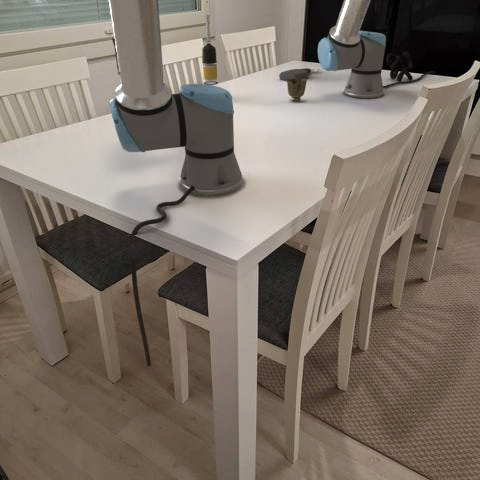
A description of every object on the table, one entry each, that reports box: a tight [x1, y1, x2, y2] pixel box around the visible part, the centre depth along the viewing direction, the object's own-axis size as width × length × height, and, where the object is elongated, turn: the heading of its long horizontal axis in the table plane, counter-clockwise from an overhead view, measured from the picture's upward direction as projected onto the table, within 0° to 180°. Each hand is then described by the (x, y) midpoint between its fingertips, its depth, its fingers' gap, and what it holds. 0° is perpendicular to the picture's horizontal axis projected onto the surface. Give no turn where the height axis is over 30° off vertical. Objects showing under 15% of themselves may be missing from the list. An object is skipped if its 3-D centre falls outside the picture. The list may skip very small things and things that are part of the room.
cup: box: [286, 78, 308, 103], centre depth 171 cm, size 8×7×8 cm
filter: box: [201, 14, 219, 86], centre depth 171 cm, size 6×6×30 cm
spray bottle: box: [278, 66, 323, 81], centre depth 210 cm, size 3×11×25 cm
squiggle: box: [385, 51, 414, 82], centre depth 198 cm, size 11×10×15 cm
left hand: (138, 103), depth 129 cm, fingers closed on pill bottle, 5 cm apart
